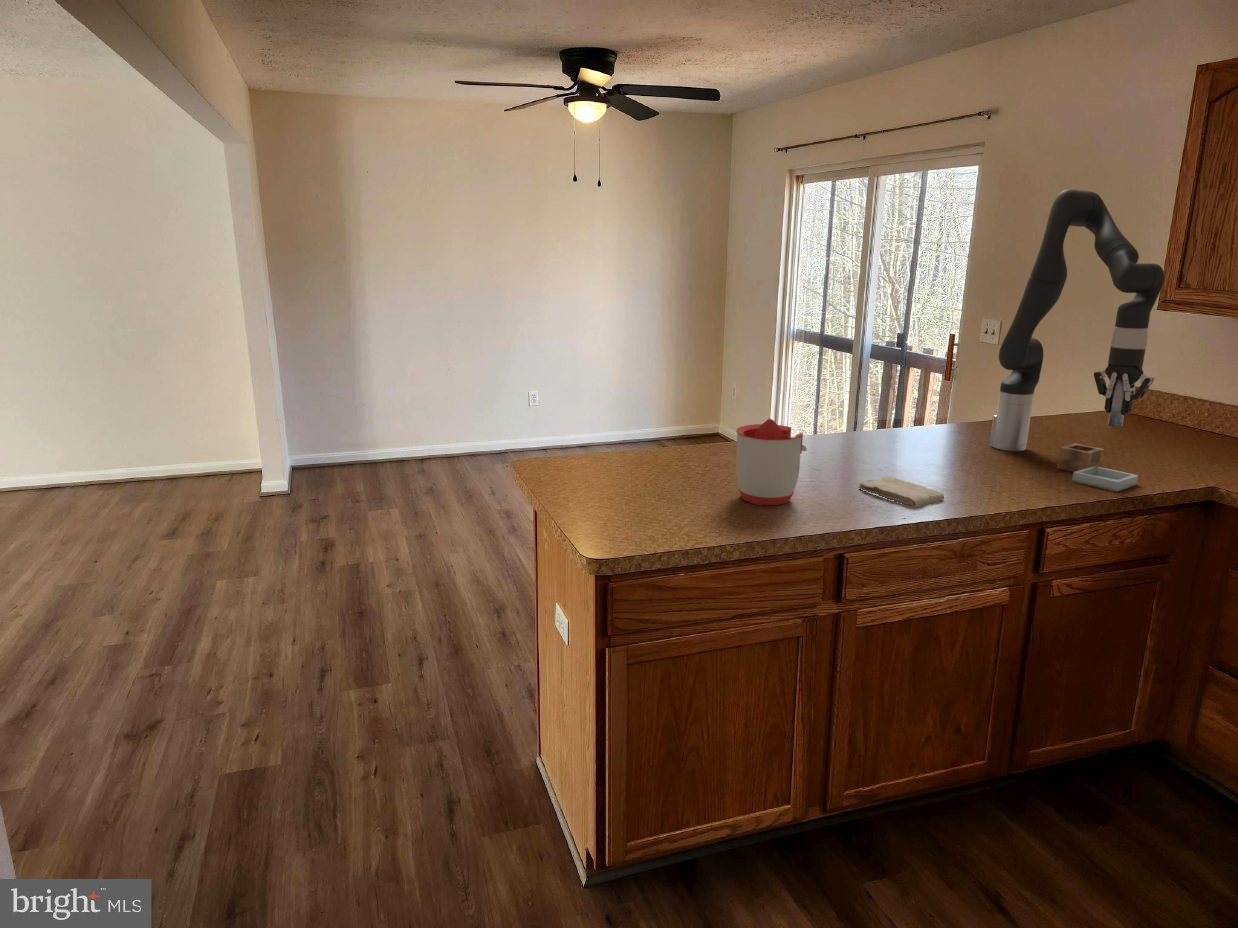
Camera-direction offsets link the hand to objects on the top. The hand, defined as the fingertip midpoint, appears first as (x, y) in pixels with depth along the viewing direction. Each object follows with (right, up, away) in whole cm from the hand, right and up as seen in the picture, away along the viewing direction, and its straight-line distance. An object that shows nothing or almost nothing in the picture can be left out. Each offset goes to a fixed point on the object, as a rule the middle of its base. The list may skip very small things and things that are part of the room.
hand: (1117, 413), depth 206 cm
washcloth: (-57, -21, -6) cm, 62 cm away
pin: (0, -3, +1) cm, 3 cm away
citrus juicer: (-91, -22, -10) cm, 94 cm away
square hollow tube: (0, -14, +18) cm, 23 cm away
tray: (0, -18, +5) cm, 19 cm away
